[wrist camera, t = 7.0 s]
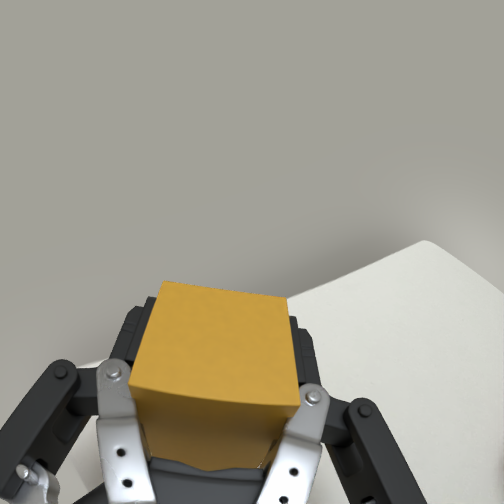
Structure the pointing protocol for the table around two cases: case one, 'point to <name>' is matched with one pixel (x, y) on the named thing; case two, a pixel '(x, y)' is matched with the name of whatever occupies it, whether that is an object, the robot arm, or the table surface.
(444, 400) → the table surface
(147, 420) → the block
